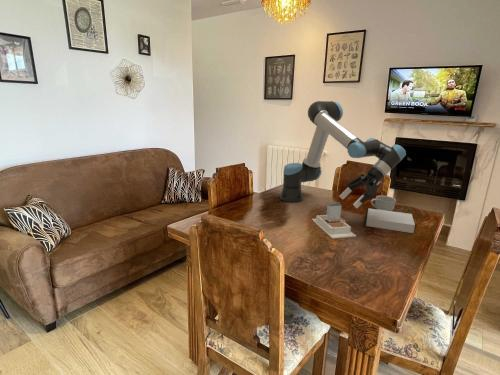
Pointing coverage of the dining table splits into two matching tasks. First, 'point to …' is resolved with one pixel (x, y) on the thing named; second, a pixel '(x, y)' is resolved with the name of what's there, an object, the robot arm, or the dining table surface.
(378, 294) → the dining table surface
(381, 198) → the teacup
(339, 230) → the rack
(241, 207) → the dining table surface
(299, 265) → the dining table surface
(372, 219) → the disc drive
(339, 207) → the panel
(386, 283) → the dining table surface
